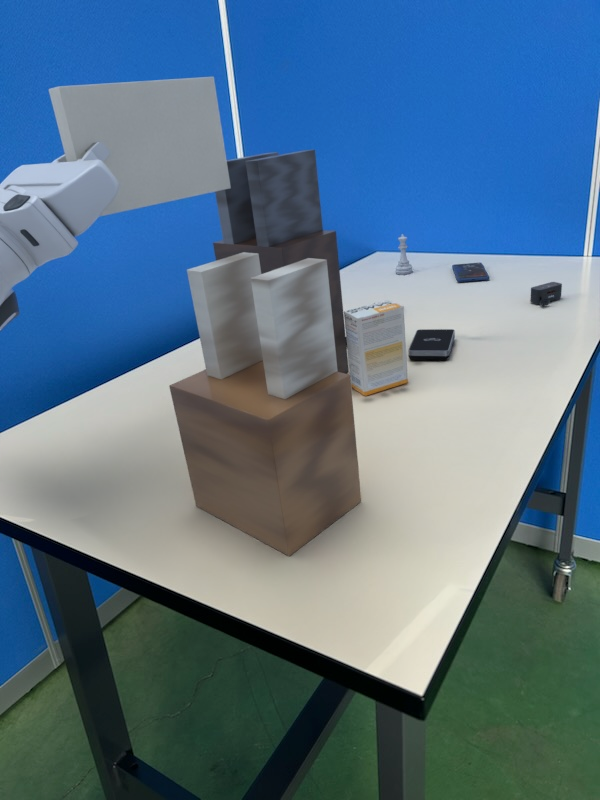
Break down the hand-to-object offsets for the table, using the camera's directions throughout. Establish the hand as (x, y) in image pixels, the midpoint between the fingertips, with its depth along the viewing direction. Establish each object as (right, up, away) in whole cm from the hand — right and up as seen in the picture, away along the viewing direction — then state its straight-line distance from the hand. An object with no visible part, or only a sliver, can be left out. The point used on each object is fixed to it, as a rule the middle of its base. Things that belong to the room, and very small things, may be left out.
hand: (94, 147), depth 73 cm
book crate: (+21, -42, 0) cm, 47 cm away
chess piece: (+52, +4, +91) cm, 104 cm away
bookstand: (+23, -25, +36) cm, 49 cm away
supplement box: (+37, -27, +28) cm, 54 cm away
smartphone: (+67, +2, +82) cm, 105 cm away
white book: (+6, -4, +8) cm, 11 cm away
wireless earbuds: (+75, -10, +55) cm, 94 cm away
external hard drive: (+48, -21, +39) cm, 65 cm away
